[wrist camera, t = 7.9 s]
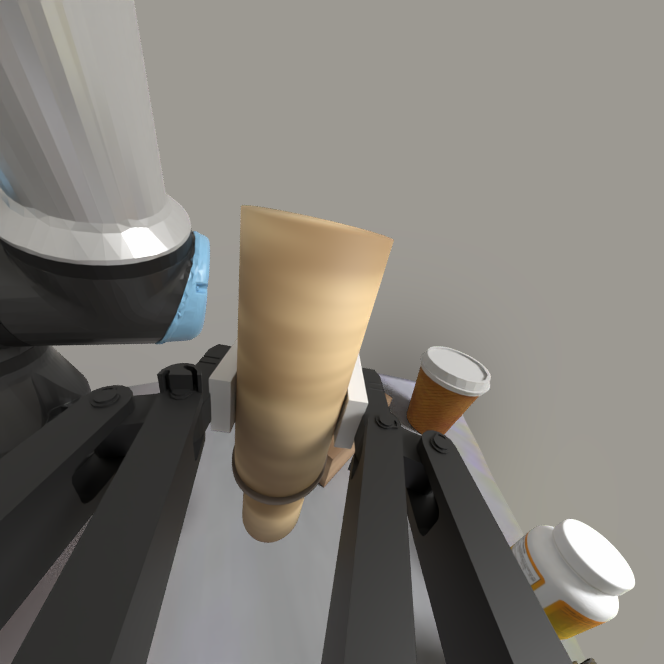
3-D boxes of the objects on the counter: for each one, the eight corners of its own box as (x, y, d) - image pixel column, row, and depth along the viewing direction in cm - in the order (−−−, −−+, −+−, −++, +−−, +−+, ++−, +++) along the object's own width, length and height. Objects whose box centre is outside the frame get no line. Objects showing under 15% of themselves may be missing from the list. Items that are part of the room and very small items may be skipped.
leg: (215, 506, 14) (202, 196, 6) (278, 456, 17) (316, 216, 10) (263, 582, 11) (329, 237, 4) (325, 507, 15) (420, 244, 8)
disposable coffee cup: (444, 460, 33) (488, 396, 27) (386, 417, 38) (413, 355, 32) (462, 425, 40) (499, 368, 34) (411, 393, 45) (436, 338, 39)
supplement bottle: (567, 619, 21) (658, 575, 16) (542, 667, 18) (643, 629, 14) (505, 548, 25) (565, 497, 20) (477, 578, 22) (539, 526, 18)
